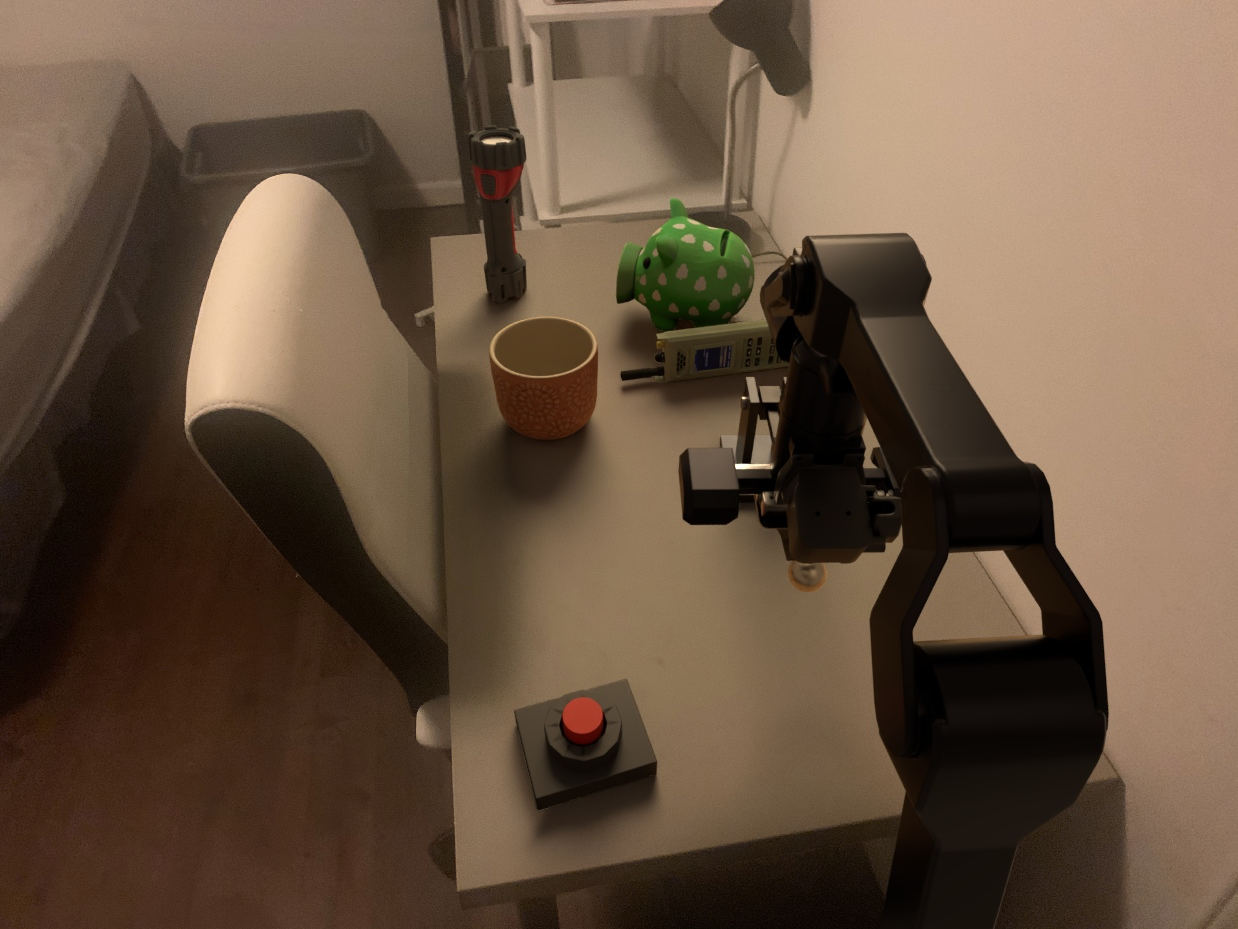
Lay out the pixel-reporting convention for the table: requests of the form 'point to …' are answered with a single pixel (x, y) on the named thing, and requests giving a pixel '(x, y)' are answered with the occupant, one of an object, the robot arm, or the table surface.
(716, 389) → the table surface
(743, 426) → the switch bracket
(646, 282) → the piggy bank
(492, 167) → the flashlight
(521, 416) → the planter
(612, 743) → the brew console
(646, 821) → the table surface
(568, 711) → the stop button
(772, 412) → the power lever
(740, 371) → the handheld radio
